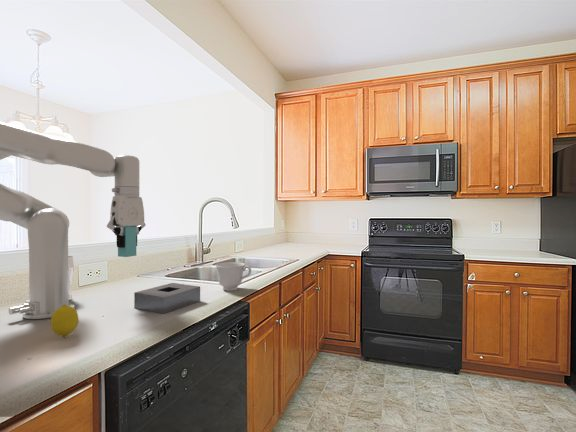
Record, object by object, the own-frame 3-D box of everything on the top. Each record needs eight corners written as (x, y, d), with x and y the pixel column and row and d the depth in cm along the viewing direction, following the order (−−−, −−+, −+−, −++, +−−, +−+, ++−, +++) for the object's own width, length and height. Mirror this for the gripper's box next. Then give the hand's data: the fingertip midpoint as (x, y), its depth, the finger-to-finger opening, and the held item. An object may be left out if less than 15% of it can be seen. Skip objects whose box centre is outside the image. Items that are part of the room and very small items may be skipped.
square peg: (125, 257, 106) (125, 226, 105) (117, 256, 107) (117, 226, 107) (136, 255, 109) (136, 226, 109) (128, 254, 111) (128, 226, 111)
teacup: (244, 294, 120) (244, 267, 120) (209, 291, 124) (209, 265, 124) (256, 287, 132) (256, 263, 132) (223, 284, 136) (223, 261, 136)
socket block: (163, 313, 97) (163, 297, 97) (134, 308, 102) (134, 292, 102) (200, 300, 111) (200, 286, 111) (172, 296, 117) (172, 282, 117)
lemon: (83, 332, 81) (83, 301, 81) (68, 341, 76) (68, 308, 76) (60, 333, 81) (60, 301, 81) (45, 341, 76) (44, 308, 76)
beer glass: (78, 298, 114) (78, 256, 114) (59, 303, 107) (59, 258, 107) (63, 296, 116) (63, 255, 115) (44, 302, 109) (43, 258, 109)
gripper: (111, 190, 99) (111, 249, 99) (155, 193, 114) (155, 245, 114) (95, 191, 102) (96, 248, 102) (140, 194, 117) (140, 244, 117)
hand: (127, 246), depth 108 cm, fingers closed on square peg, 4 cm apart
